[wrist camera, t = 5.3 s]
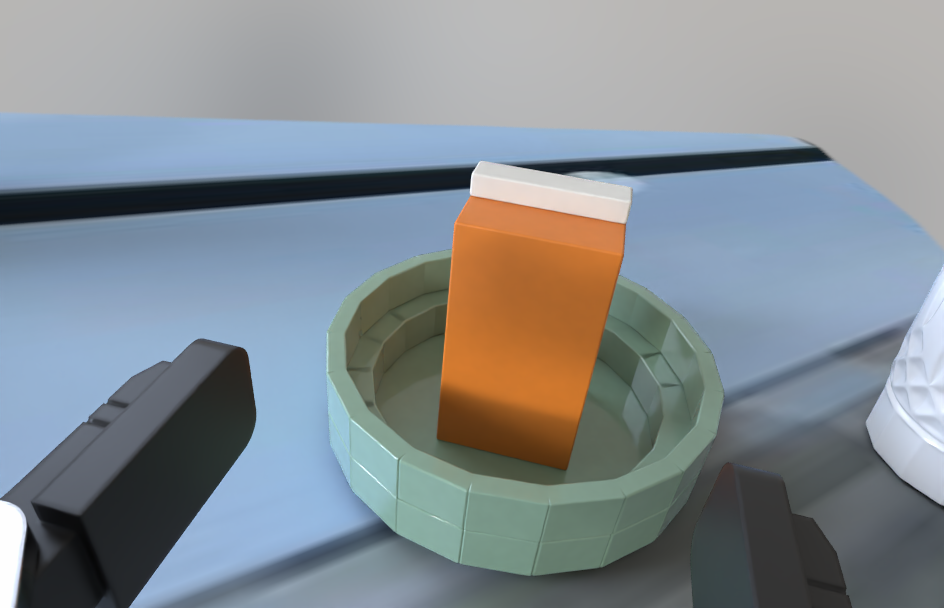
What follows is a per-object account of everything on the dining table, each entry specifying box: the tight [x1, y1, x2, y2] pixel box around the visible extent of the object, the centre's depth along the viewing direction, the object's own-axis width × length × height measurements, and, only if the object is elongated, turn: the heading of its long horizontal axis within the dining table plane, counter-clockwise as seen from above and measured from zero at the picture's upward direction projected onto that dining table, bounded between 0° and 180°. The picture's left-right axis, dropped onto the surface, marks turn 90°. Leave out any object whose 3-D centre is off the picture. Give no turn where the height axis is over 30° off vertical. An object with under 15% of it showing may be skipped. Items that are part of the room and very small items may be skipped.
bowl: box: [326, 249, 724, 576], centre depth 24 cm, size 14×14×4 cm
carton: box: [436, 161, 633, 470], centre depth 23 cm, size 5×5×10 cm
